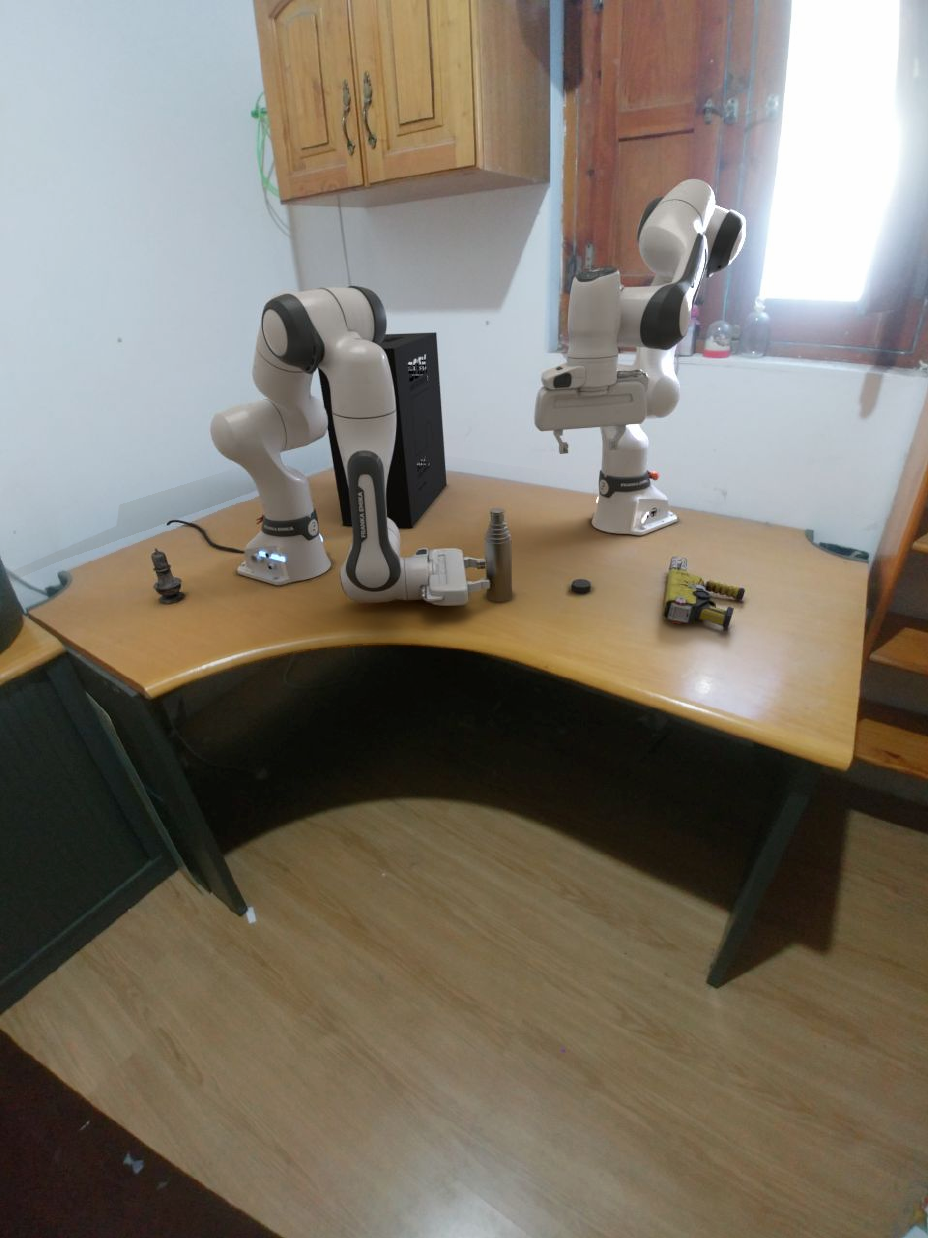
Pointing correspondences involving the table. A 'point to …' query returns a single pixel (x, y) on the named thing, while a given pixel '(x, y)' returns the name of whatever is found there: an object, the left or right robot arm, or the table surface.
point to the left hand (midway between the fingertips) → (487, 573)
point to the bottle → (498, 558)
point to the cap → (581, 586)
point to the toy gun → (695, 597)
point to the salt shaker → (166, 579)
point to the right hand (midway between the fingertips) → (588, 451)
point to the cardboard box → (404, 431)
